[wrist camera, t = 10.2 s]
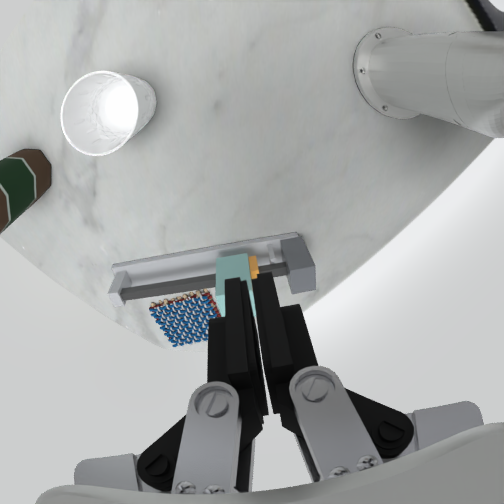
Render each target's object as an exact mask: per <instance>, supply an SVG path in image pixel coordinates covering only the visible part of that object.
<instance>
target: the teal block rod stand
mask: <svg viewBox="0 0 504 504" xmlns="http://www.w3.org/2000/svg"><path fill="white" fill-rule="evenodd" d="M244 253H247V255H248V260H249V266H250V274H251V279H255V278H257V274H260V273H265V272H271V271H272V275H273V277H278V276H284V275H286V276H287V279H288V282H289V286H290V289H291V292H292V294H296V293H301V292H307V291H312V290H316V273H315V264H314V262H313V260H312V258H311V255H310V253H309V251H308V249H307V247H306V244H305V242H304V240H303V238H302V236H301V237H298V234H297V232H294V233H288V234H282V235H276V236H270V237H265V238H259V239H253V240H247V241H241V242H235V243H230V244H224V245H218V246H212V247H207V248H201V249H195V250H190V251H184V252H179V253H173V254H167V255H162V256H156V257H151V258H145V259H140V260H135V261H129V262H124V263H118V264H113V266H112V268H111V269H112V271H113V273H114V276H115V278H114V280H113V282H112V285H111V287H110V289H109V292H108V296H109V298H110V300H111V301H112V303H113V305H114V307H120V306H124V305H125V303H126V300H132V299H139V298H146V297H153V296H160V295H167V294H173V293H180V292H187V291H193V290H200V289H206V288H212V287H216V258H221V257H227V256H232V255H238V254H244Z"/></svg>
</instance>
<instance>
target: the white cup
mask: <svg viewBox="0 0 504 504" xmlns="http://www.w3.org/2000/svg"><path fill="white" fill-rule="evenodd" d="M156 104H157V100H156V96H155V91H154V89H153V88H152V87H151V86H150V85H149V84H148V82H147V81H144V80H142V79H139V78H137V77H135V76H131V75H127V74H122V73H116V72H111V71H96V72H92V73H89V74H87V75H85V76H83V77H81V78H80V79H79V80H77V81H76V82H75V83H74V84H73V85H72V86H71V88H70V89H69V90H68V92H67V94H66V96H65V98H64V100H63V103H62V107H61V126H62V130H63V133H64V135H65V137H66V139H67V140H68V142H69V143H70V144H71V145H72V146H73V147H74V148H75V149H76V150H78V151H79V152H81V153H84V154H86V155H91V156H102V155H107V154H110V153H112V152H114V151H116V150H118V149H119V148H120V147H122V146H123V145H124V144H125V143H126V142H127V141H129V140H130V139H131V138H132V137H133V136H135V135H136V134H137V133H138V132H139V131H140V130H141V129H142V128H143V127H144V126H145V125H146V124H147V123H148V122H149V121H150V119H151V118H152V117H153V115H154V113H155V108H156Z"/></svg>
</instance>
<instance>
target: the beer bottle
mask: <svg viewBox="0 0 504 504" xmlns="http://www.w3.org/2000/svg"><path fill="white" fill-rule="evenodd" d="M50 186H51V165H50V163H49V162H48V160H47V159H46V158H45V156H44V155H43V154H42V152H41V151H40V150H31V149H23V150H20V151H18V152H16V153H14V154H12V155H10V156H8V157H6V158H4V159H2V160H1V161H0V234H1V233H2V232H3V231H4V230H5V229H6V228H7V227H8V226H9V225H10V224H11V223H13V222H14V221H15V220H16V219H17V218H18V217H19V216H20V215H21V214H22V213H24V212H25V211H26V210H27V209H28V208H29V207H30V206H32V205H33V204H34V203H35V202H36V201H37V200H38V199H39V198H40V197H41V196H42V195H43V194H44V192H45V191H46V190H47V189H48V188H49V187H50Z"/></svg>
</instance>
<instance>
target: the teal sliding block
mask: <svg viewBox="0 0 504 504" xmlns="http://www.w3.org/2000/svg"><path fill="white" fill-rule="evenodd" d="M236 277H240V279H241V281H243V280H247V285H248V290H249V294H250V299H251V304H252V309H253V314H254V317H255V316H256V310H255V303H254V296H253V288H252V281H251V274H250V266H249V260H248V255H247V253H244V254H238V255H232V256H227V257H221V258H216V295H215V296H216V299H217V303H218V306H219V310H220V313H221V316H222V317H225V283H224V281H225V279H230V278H236Z"/></svg>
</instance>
